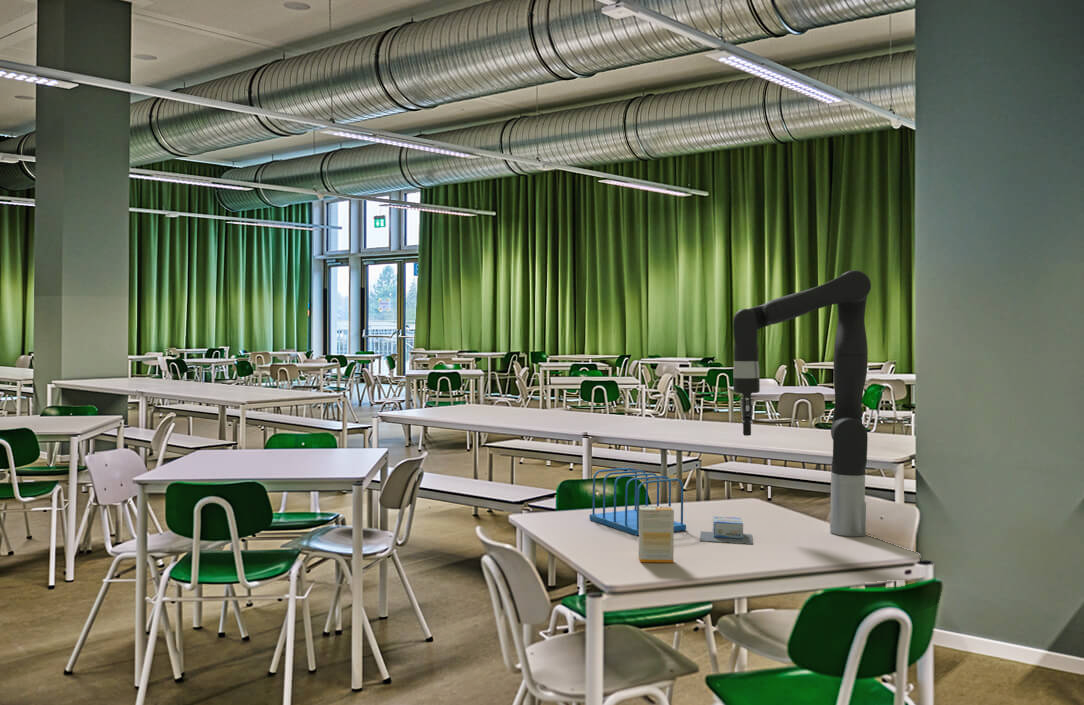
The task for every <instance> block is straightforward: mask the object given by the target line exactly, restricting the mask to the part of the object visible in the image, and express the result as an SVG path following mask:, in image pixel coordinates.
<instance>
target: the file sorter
mask: <svg viewBox="0 0 1084 705" xmlns="http://www.w3.org/2000/svg"><path fill="white" fill-rule="evenodd" d="M604 472H608V473H607V474H606V475H605V476H604V479H603V484H602V486H603V487H602V489H603V490H602V512H600V513H599V512H598V513H596V512H595V508H596V507H595V505H596V504H595V503H596V502H595V500H596V477H597V475H598V474H599V473H604ZM612 475H619V476H617V477H616V478H615V480H614V483H613V511H609V512H606V481H607V478H608V477H610V476H612ZM641 476H643V477H641ZM631 477H632V478H631ZM621 478H630V479H628V480H627V482H626V484H625V492H624V493H625V497H624V505H625V506H624V510H619V511H618V510H617V484H618V481H619V479H621ZM663 478H664V479H663ZM651 479H655V480H651ZM640 480H641V481H642V480H645V481H642V482H641V483H640V484H638V481H640ZM632 481H634V509H629V510H628V489H629V484H630V483H631V482H632ZM672 481H673V482H675V481H677V482H679V484H680V521H679V522H678V521H675V520H674V532H681V531H680V530H683V531H686V530H687V525H686V523H684V484H683V481H682V480H681V479H679V478H669V477H668V476H666V475H657V474H656V473H655V472H654V473H653V472H646V471H644V470H635V469H634V468H631V467H625V468H623V467H622V468H621V467H620V468H610V469H609V468H607V469H599V470H597V471H595V473H594V474H593V477H592V513H591V514H589V520H591V521H593V522H595V523H599V524H602V525H605V526H608V527H611V528H614V529H616V530H619V531H622V532H626V533H627V532H628V534H630V533H631V535H633V534H634V536H636V535H639V506H640V489H641V488H642V486H643V485H644V484H645V506H649V505H648V503H649V501H648V498H649V484H651V483H652V484H653V483H656V506H660V483H661V482H662V483H663V482H668V506H669V507H672Z"/></svg>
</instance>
